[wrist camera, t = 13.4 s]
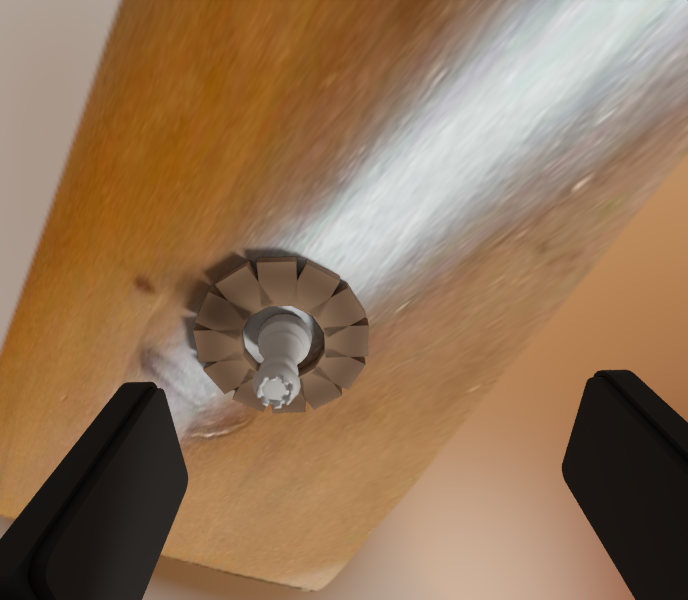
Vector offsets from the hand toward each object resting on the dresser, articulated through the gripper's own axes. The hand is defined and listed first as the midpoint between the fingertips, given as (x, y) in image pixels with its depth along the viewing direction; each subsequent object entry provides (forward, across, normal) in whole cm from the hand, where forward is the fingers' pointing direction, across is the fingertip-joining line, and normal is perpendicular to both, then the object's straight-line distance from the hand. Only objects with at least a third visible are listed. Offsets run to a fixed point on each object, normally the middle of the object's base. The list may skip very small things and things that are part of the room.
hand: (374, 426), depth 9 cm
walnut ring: (+22, +6, +11) cm, 25 cm away
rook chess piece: (+22, +6, +11) cm, 25 cm away
